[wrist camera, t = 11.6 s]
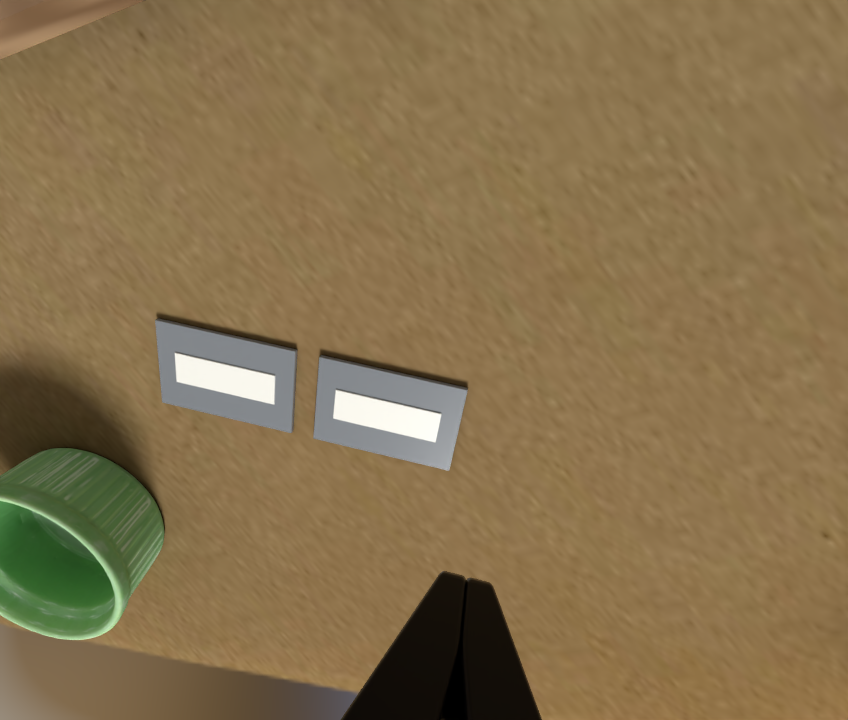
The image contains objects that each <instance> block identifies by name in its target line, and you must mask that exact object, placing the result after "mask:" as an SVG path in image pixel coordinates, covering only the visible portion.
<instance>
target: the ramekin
mask: <svg viewBox="0 0 848 720" xmlns="http://www.w3.org/2000/svg"><path fill="white" fill-rule="evenodd" d="M163 541H164V525H163V520H162V516H161V513H160V511H159V508H158V506H157V504H156V502H155V501H154V499H153V498H152V496H151V495H150V493H149V492H148V491H147V490H146V488H145V487H144V486H143V485H142V484H141V483H140V482H139V481H138V480H137V479H136V478H135V477H133V476H132V475H131V474H130V473H129V472H127V471H126V470H124V469H123V468H122V467H120V466H119V465H117V464H115V463H114V462H112V461H110V460H108V459H106V458H104V457H102V456H99V455H97V454H94V453H91V452H87V451H84V450H78V449H72V448H54V449H49V450H45V451H42V452H39V453H37V454H35V455H33V456H32V457H30V458H28V459H26V460H25V461H23V462H21V463H20V464H18V465H17V466H15V467H14V468H12V469H10V470H9V471H7V472H5V473H4V474H2V475H1V476H0V615H1V616H3V617H5V618H6V619H8V620H10V621H12V622H14V623H16V624H18V625H20V626H22V627H24V628H26V629H29V630H31V631H34V632H37V633H39V634H42V635H46V636H50V637H55V638H59V639H69V640H83V639H89V638H94V637H97V636H100V635H102V634H104V633H106V632H107V631H109V630H110V629H112V628H113V627H114V626H115V624H116V623H117V622H118V621H119V619H120V618H121V616H122V614H123V612H124V610H125V608H126V606H127V603H128V600H129V598H130V596H131V595H132V593H133V592H134V590H135V589H136V587H137V586H138V584H139V583H140V582H141V580H142V579H143V577H144V576H145V574H146V573H147V571H148V570H149V568H150V567H151V565H152V564H153V562H154V561H155V559H156V558H157V556H158V554H159V552H160V551H161V548H162V545H163Z"/></svg>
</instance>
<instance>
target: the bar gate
mask: <svg viewBox="0 0 848 720" xmlns="http://www.w3.org/2000/svg"><path fill="white" fill-rule="evenodd" d="M142 1H145V0H0V59H3V58H5V57H8V56H10V55H12V54H15V53H17V52H20V51H22V50H25V49H27V48H30V47H32V46H34V45H37V44H39V43H42V42H44V41H47V40H49V39H52V38H54V37H57V36H59V35H61V34H64V33H66V32H69V31H71V30H74V29H76V28H79V27H81V26H83V25H86V24H88V23H91V22H93V21H96V20H98V19H101V18H103V17H106V16H108V15H110V14H113V13H115V12H118V11H120V10H123V9H125V8H128V7H130V6H133V5H135V4H137V3H140V2H142Z"/></svg>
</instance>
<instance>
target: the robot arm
mask: <svg viewBox="0 0 848 720" xmlns="http://www.w3.org/2000/svg"><path fill="white" fill-rule="evenodd" d="M341 720H542V719H541V716H540V713H539V710H538V708H537V705H536V702H535V700H534V697H533V694H532V691H531V689H530V686H529V683H528V680H527V678H526V675H525V672H524V669H523V667H522V664H521V661H520V658H519V656H518V653H517V650H516V647H515V645H514V642H513V639H512V637H511V634H510V631H509V628H508V626H507V623H506V620H505V617H504V615H503V612H502V609H501V606H500V604H499V601H498V598H497V595H496V593H495V590H494V588H493V586H492V584H491V583H489V582H486V581H482V580H478V579H474V578H468V579H467V580H466V579H465V577H464V576H462V575H459V574H455V573H451V572H447V571H443V572H441V573H440V574H439V575H438V577H437V578H436V580H435V581H434V583H433V584H432V586H431V587H430V589H429V590H428V592H427V593H426V595H425V596H424V598H423V599H422V600H421V602H420V603H419V605H418V606H417V608H416V609H415V611H414V612H413V614H412V615H411V617H410V618H409V620H408V621H407V623H406V624H405V626H404V627H403V629H402V630H401V632H400V633H399V634H398V636H397V637H396V639H395V640H394V642H393V643H392V645H391V646H390V648H389V649H388V651H387V652H386V654H385V655H384V657H383V658H382V660H381V661H380V663H379V664H378V666H377V667H376V668H375V670H374V671H373V673H372V674H371V676H370V677H369V679H368V680H367V682H366V683H365V685H364V686H363V688H362V689H361V691H360V692H359V694H358V695H357V697H356V698H355V700H354V701H353V703H352V704H351V705H350V707H349V709H348V710H347V711H346V713H345V714H344V716H343V717H342V719H341Z"/></svg>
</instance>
